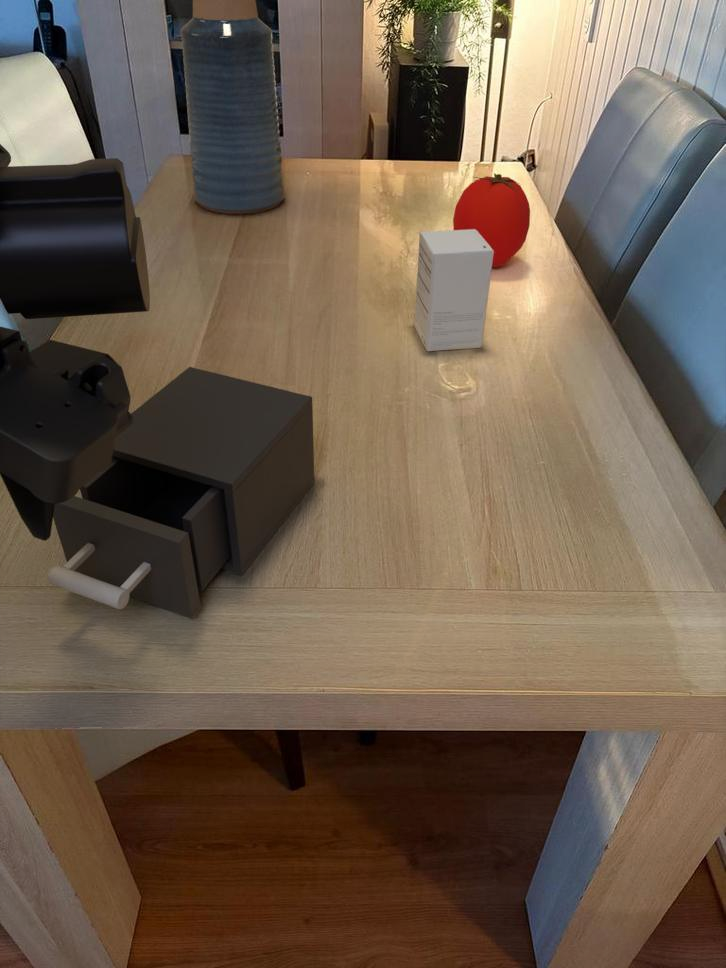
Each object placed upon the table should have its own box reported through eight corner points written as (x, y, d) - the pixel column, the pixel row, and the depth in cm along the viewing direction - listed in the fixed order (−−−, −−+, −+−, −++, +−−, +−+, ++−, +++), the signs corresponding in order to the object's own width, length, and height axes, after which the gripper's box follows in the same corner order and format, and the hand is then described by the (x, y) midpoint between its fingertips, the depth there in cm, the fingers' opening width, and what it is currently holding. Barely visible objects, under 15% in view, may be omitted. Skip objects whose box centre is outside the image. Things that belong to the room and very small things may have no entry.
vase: (179, 196, 137) (153, -8, 117) (256, 182, 145) (244, -12, 125) (221, 222, 127) (200, 2, 107) (301, 205, 135) (296, -2, 115)
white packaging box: (466, 322, 98) (477, 227, 91) (482, 349, 93) (496, 250, 85) (412, 325, 97) (418, 229, 90) (424, 352, 92) (433, 252, 84)
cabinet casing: (242, 576, 61) (232, 484, 55) (115, 534, 65) (93, 443, 59) (314, 483, 71) (312, 396, 65) (201, 450, 74) (189, 366, 69)
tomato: (496, 245, 121) (508, 159, 113) (539, 273, 112) (555, 182, 104) (433, 254, 117) (440, 166, 109) (472, 284, 108) (483, 190, 100)
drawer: (159, 660, 53) (141, 583, 48) (33, 611, 56) (4, 534, 51) (271, 520, 65) (266, 447, 60) (162, 486, 68) (149, 415, 64)
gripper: (-114, 472, 26) (8, 730, 36) (185, 279, 40) (215, 503, 49) (-321, 401, 29) (-158, 655, 39) (21, 245, 43) (79, 462, 53)
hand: (17, 558), depth 45 cm, fingers open, 4 cm apart
